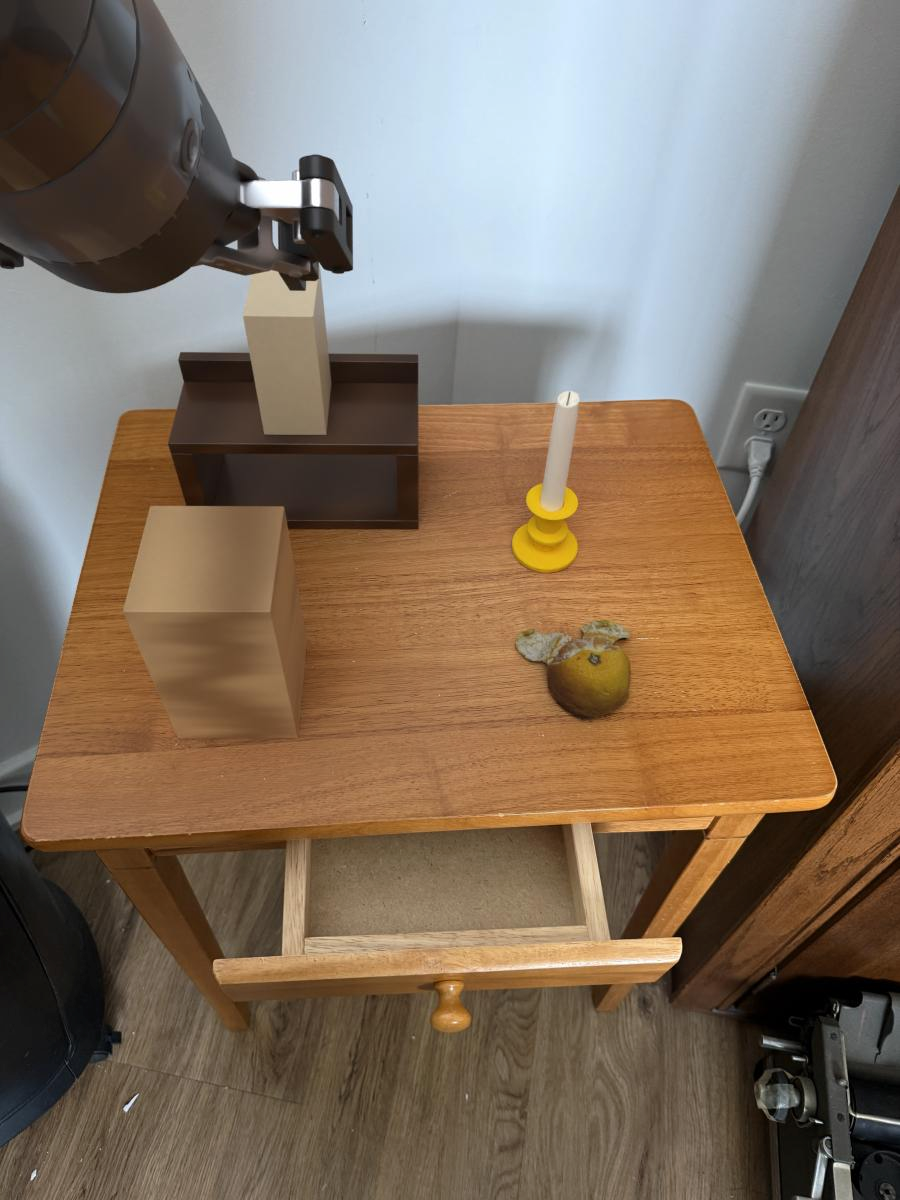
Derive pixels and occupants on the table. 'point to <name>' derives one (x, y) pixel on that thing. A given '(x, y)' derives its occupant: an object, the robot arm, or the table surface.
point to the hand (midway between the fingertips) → (203, 266)
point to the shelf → (303, 444)
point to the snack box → (288, 354)
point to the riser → (220, 620)
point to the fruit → (583, 667)
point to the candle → (552, 500)
